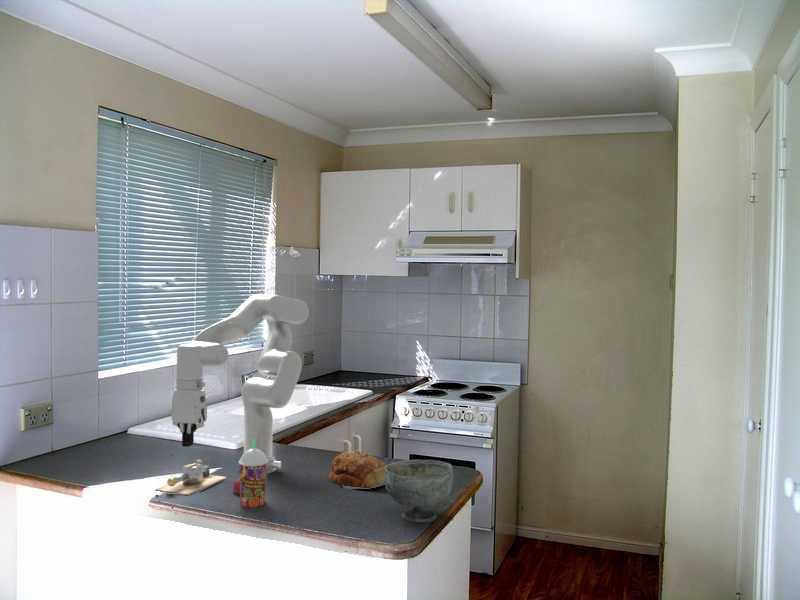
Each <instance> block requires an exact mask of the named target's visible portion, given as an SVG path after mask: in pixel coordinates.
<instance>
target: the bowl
mask: <svg viewBox="0 0 800 600" xmlns="http://www.w3.org/2000/svg"><path fill="white" fill-rule="evenodd" d="M453 471H454V470H453V465H452V464H451V463H448V462H446V461H440V460H435V459H408V460H407V459H406V460H401V461H396V462H395V461H394V462H391V463H389V464H387V466H385V481H384V483H385V486H384V487H385V490H386V491H387V493H388V494H389V496H390V497H391V499H392V500H394V501H395V502H396V503H397V504H398V505H400V506H403V507H411V509H408V510H405V511H404V512H403V513H402V514H401V517H402V518H403V519H404V520H407V521H410V522H414V523H429V522H432V521H434V520H436V519H437V518H438V516H437V513H435V512H434V511H433V510H430V509H427V507H431V506H435V505H438V504H440V503H441V502H443V501H444V500H445V499H446V498H448V496H449V495H450V493H451V491H452V490H453V481H454V472H453Z"/></svg>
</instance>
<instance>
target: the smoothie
mask: <svg viewBox="0 0 800 600" xmlns="http://www.w3.org/2000/svg"><path fill="white" fill-rule="evenodd" d="M267 467H268V460H267V458H266V456H265V454H264V453H263V452H262V451H261V450H259V449H255V439H253V449H249V450H247V451H246V452H245V453H244V452H243V453H242V456H241V457H240V459H239V460H238V471H239V472H238V473H239V475H238V476H239V477H238V478H240V494H239V496H240V505H241V507H245V508H257V507H261V506H263V505H265V503H266V491H267V489H266V488H267V477H268V474H267Z"/></svg>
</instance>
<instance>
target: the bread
mask: <svg viewBox="0 0 800 600" xmlns="http://www.w3.org/2000/svg"><path fill="white" fill-rule="evenodd" d="M387 465H388V464H387V463H386V462H383V461H382V460H380V459H379V458H377V457H375V456H373V455H372V454H369V453H367V452H364V451H345V452H342V453H340V454H339V455H337V456H336V457H334V458H333V460H332V462H331V468H330V470H331V471H330V473H329V474H328V480H329V481H330V482H332V483H333V482H334V483H333V484H336V483H337V485H339V486H342V485H344V486H351V487H361V488H371V487H374V486H377V485H380V484H382V483H384V481H385V466H387Z"/></svg>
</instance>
